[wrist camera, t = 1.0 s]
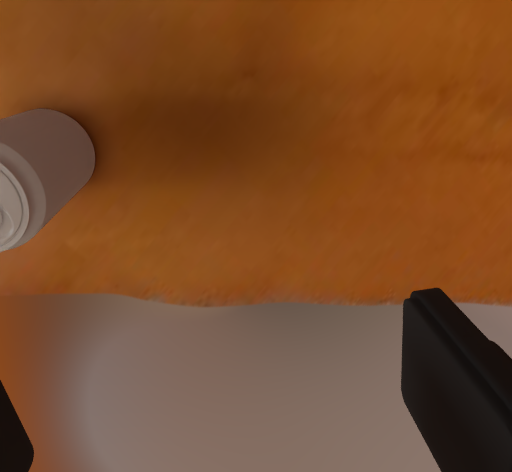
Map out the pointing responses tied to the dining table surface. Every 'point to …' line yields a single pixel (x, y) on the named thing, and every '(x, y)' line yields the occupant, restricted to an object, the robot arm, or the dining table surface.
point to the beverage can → (39, 170)
